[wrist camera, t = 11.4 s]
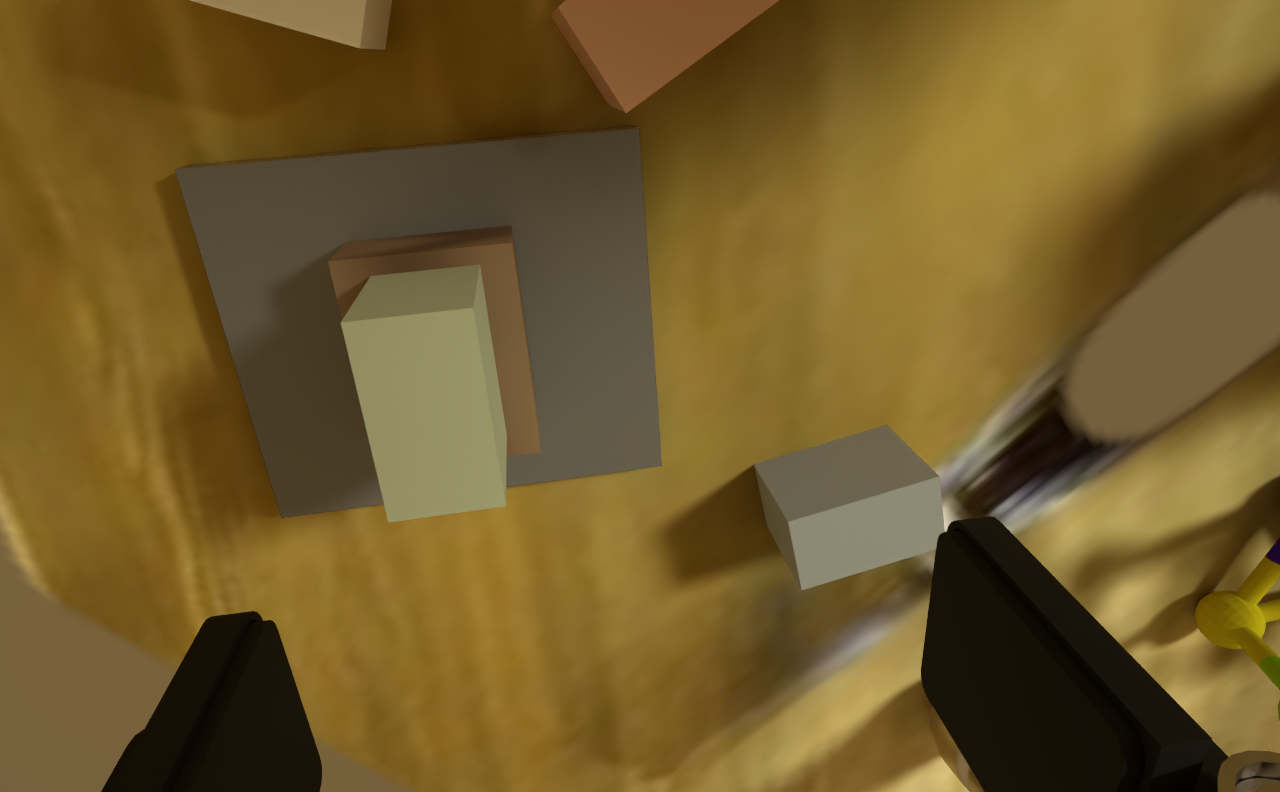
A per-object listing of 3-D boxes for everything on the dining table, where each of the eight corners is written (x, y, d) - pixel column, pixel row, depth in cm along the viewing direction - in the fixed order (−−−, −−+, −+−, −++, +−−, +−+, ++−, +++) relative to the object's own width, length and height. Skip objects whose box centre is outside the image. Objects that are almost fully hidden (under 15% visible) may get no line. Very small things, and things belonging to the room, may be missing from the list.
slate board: (634, 125, 29) (639, 128, 28) (657, 453, 35) (661, 466, 34) (188, 165, 27) (175, 169, 26) (288, 502, 33) (281, 517, 32)
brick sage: (370, 276, 26) (340, 322, 21) (479, 264, 26) (473, 307, 22) (408, 448, 28) (388, 522, 24) (506, 435, 29) (505, 506, 24)
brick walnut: (511, 225, 29) (512, 242, 26) (538, 418, 32) (540, 452, 29) (345, 241, 28) (327, 261, 25) (390, 437, 31) (378, 473, 29)
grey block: (886, 424, 36) (939, 476, 32) (893, 487, 38) (945, 546, 33) (753, 463, 36) (788, 522, 32) (766, 525, 38) (801, 590, 33)
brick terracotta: (702, -102, 27) (741, -134, 22) (753, -4, 28) (800, -16, 24) (549, 14, 27) (557, 6, 23) (608, 104, 29) (626, 113, 24)
